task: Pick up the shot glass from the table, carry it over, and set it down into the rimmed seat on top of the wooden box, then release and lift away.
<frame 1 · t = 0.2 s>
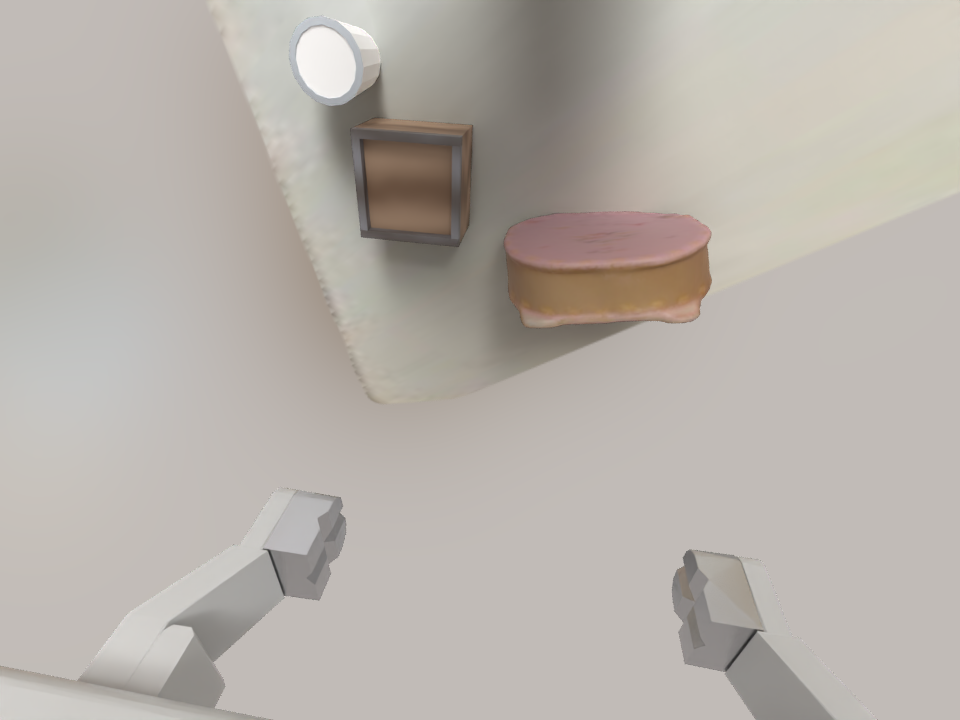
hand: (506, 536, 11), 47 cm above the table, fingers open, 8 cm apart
wooden box: (424, 173, 53), on the table
face sculpture: (597, 229, 54), on the table
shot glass: (354, 59, 48), on the table
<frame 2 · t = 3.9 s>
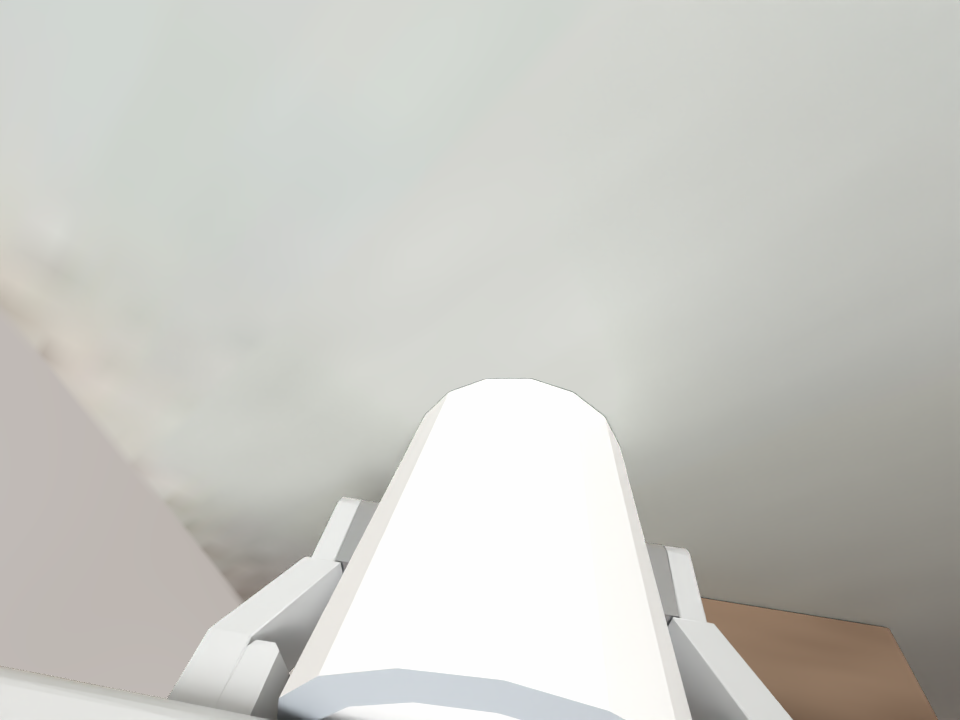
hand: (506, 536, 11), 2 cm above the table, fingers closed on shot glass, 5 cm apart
wooden box: (670, 671, 19), on the table
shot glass: (516, 453, 13), on the table, touching gripper
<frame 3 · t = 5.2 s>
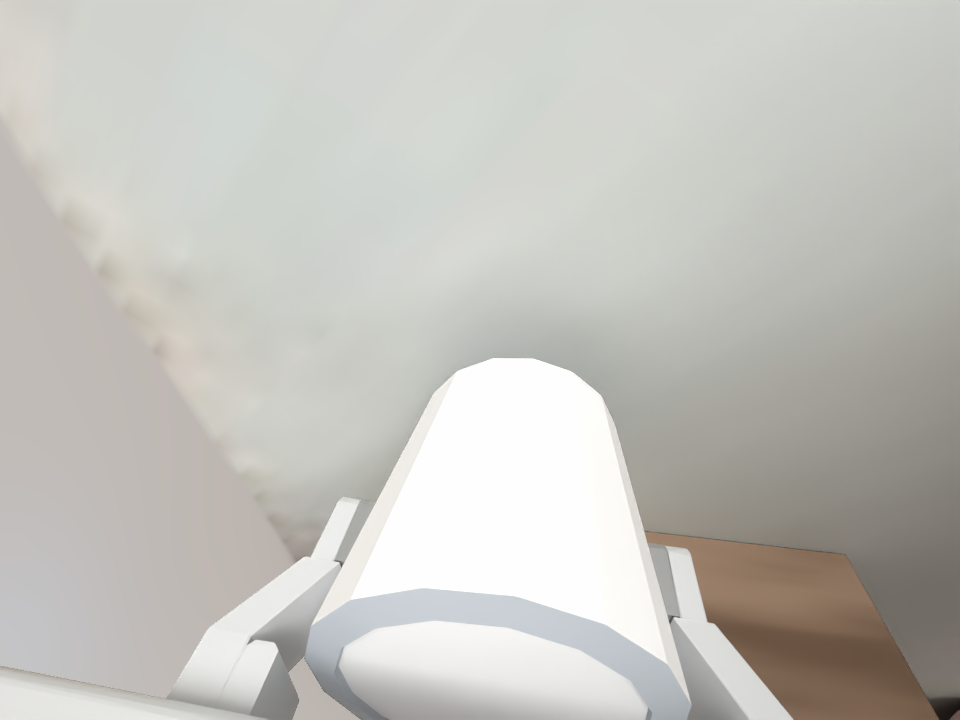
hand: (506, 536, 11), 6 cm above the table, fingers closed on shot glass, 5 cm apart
wooden box: (670, 612, 22), on the table
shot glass: (518, 431, 14), point 2 cm above the table, touching gripper
when the fingers open (10 cm above the table, at t = 9.5 s): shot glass stays where it is, resting on wooden box.
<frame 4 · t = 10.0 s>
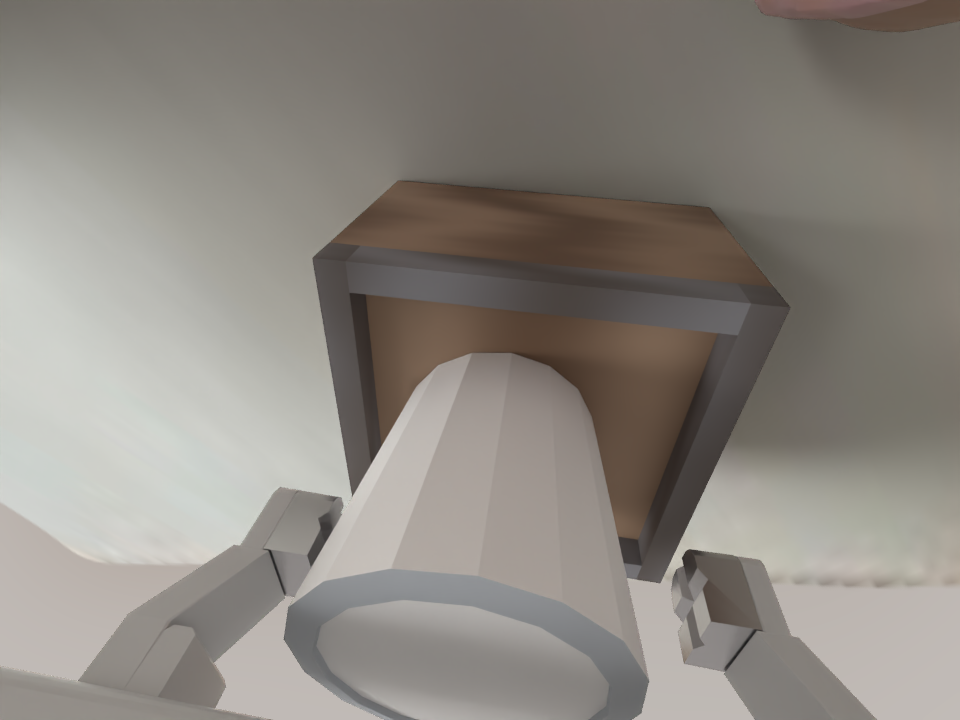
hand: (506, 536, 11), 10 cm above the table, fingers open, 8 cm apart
wooden box: (532, 326, 19), on the table
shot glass: (499, 423, 15), point 6 cm above the table, touching wooden box, gripper
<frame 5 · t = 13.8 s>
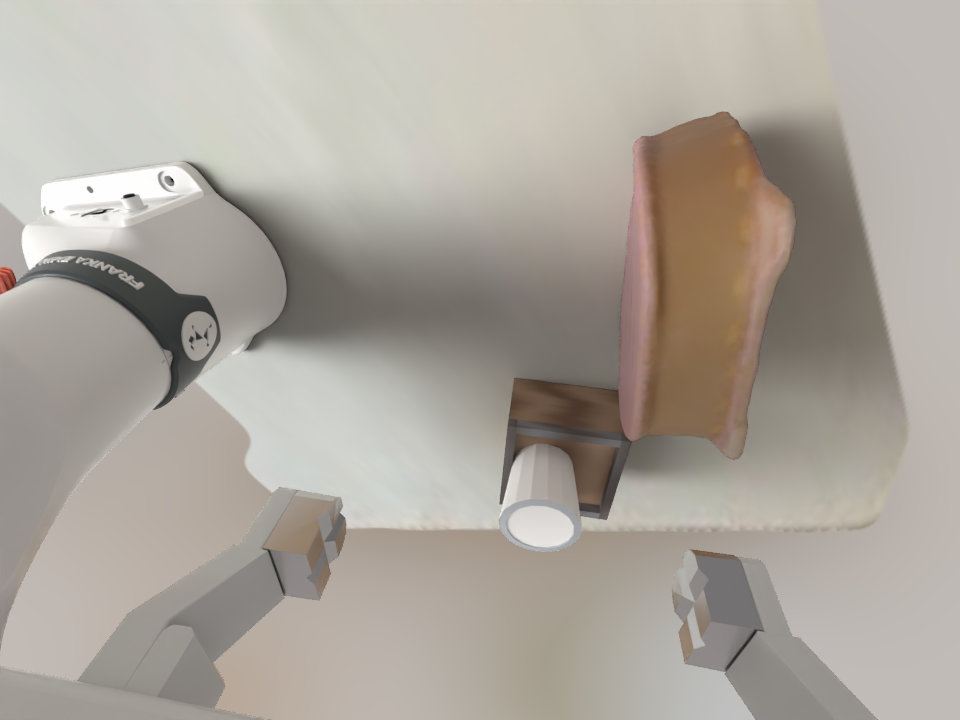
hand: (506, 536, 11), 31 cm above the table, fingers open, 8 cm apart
wooden box: (560, 424, 50), on the table
face sculpture: (652, 245, 38), on the table
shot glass: (542, 463, 45), point 6 cm above the table, touching wooden box
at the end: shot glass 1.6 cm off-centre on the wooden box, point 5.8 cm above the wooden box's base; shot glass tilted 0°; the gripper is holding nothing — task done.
